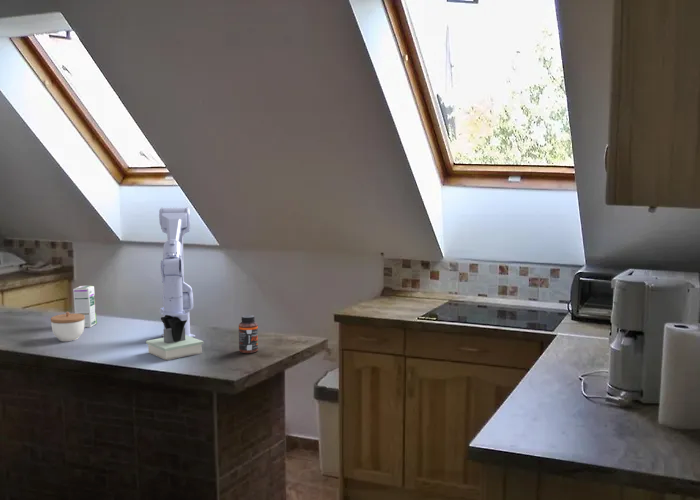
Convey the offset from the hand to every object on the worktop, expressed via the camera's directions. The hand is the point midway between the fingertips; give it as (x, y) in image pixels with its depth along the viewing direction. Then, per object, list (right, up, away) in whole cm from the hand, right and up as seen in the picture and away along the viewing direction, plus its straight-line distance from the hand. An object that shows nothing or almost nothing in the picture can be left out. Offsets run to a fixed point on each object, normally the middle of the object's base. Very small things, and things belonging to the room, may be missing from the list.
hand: (174, 339), depth 224 cm
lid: (0, -1, 0) cm, 1 cm away
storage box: (0, -4, +1) cm, 4 cm away
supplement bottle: (+23, -4, +2) cm, 23 cm away
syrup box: (-42, 0, +39) cm, 57 cm away
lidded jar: (-41, -2, +20) cm, 45 cm away
